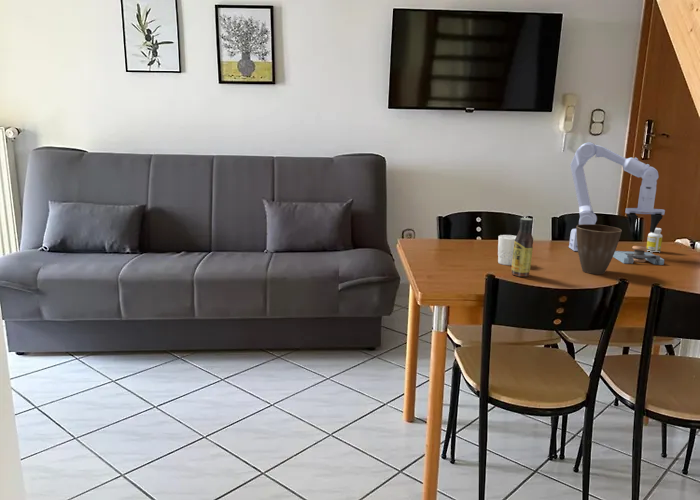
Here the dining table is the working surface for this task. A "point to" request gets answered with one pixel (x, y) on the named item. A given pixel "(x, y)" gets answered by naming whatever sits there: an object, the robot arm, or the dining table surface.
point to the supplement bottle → (654, 241)
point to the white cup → (505, 249)
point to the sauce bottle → (523, 249)
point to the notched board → (623, 258)
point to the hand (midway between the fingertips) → (642, 231)
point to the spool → (639, 253)
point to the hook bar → (643, 257)
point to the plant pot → (596, 246)
